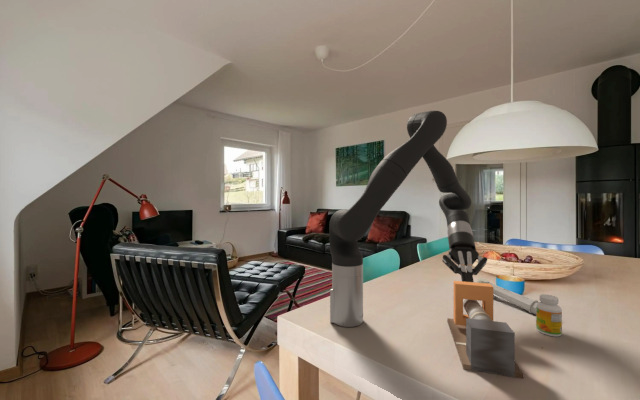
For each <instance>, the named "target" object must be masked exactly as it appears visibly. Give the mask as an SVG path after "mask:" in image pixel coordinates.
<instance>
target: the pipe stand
mask: <svg viewBox="0 0 640 400" xmlns="http://www.w3.org/2000/svg"><path fill="white" fill-rule="evenodd" d="M463 310H465V313H466V315H468V316H469V318H470V319H469V318H466V326H463V325H455V322H454V318H447V324H448V327H449V330H450V333H451V336H452V339H453V342H454V346H455V349H456V351H457V354H458V355H457V356H458V357H459V361H460V364H461V367H462V369H463V370H469V371H476V372H480V373H481V372H482V373H488V374H493V375H499V376H506V377H512V378H518V379H524V372H523V371H522V369H521V368H520V366H519V365H518V364H517V361H516V357H515V356H516V355H515V354H516V353H515V352H516V351H515V349H516V344H515V343H516V342H515V339H516V334H515V331H514V330H513V329H512V328H511V327H510V326H509V324H508V323H507V322H506V321H505V322H504V321H494V320H493V321H492V320H491V318H490V317H489V315H487V314H486V313H485V311H484V310H483V308H482V305H481V304H480V303H479V300H468V299H463Z"/></svg>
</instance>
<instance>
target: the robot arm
mask: <svg viewBox="0 0 640 400" xmlns="http://www.w3.org/2000/svg"><path fill="white" fill-rule="evenodd" d="M447 125H448V119H447V116H446V114H445V113H443V112H442V111H440V110H429V111H424V112H418V113H414V114H413V115H411V116H410V117H409V118H408V120H407V122H406V131H407V134H408V136H409V139H408V140H406V141H405V142H404V143H403V144H400V145H399V146H398V147H396V148H395V149H393V150H392V151H390V152H389V153H388V154H387V155H385V156H384V157H383V159H381V161H379V163H378V165H377V166H376V167H375V168H374V169H373V171H372V172H371V174H370V177H369V178H368V181H367V184H366V186H365V190H364V192H363V193H362V194H361V196H360V197H359V198H358V199H357V200H356V202H355V203H353V204H352V206H351V207H350V208H348V209H339V210H337V211H335V212H334V213H333V214H332V215H331V217H330V220H329V230H328V231H329V232H328V235H329V251H330V255H331V289H329V290H330V291H329V297H330V298H329V308H330V309H329V313H330V314H329V320H330V321H329V322H330V323H333V324H335V325H337V326H340V327H345V328H353V327H358V326H360V325H362V324H363V323H364V255H363V253H362V252H361V249H360V248H359V245H358V244H359V242H358V241H359V240H361V239H362V238H363V237H364V236H365V235H366V234H367V232H368V231H369V229H370V227H371V226H372V224H373V222H374V221H375V220H376V218H377V216H378V214H379V212H380V211H381V210H382V209H383V208H384V206H385V205H386V204H387V202H388V201H389V200H390V198H391V197H392V196H393V195H394V193H395V192H396V191H397V190H398V188H399V187H400V186H401V185H402V184H403V182H404V181H405V180H406V179H407V177H408V176H409V174H410V173H411V172H412V171H413V170H414V168H415V167H416V165H417V164H418V163H419V162H420V160H421V159H423V161H425V163H426V165H427V166H428V167H427V168H429V170H430V172H431V175H432V177H433V180H434V181H435V186H436V187H437V189H438V191H439V192H440V193H443V194H444V195H442V196H441V197H440V198H439V201H438V203H439V207H440V209H441V211H442V213H443V214H444V216H445V220H446V225H447V226H446V227H447V239H448V248H449V249H448V254H443V255H442V259H441V260H442V263H443V264H444V265H445V266H446V267H448V268H449V270H451V271H452V272H453V273H454V274H459V275H460V276H461V281H463V282H474V281H475V280H474V276H477V275H478V274H479V273H480V272H481V271H482V269H483V268H484V267H485V266H486V265H487V262H488V258H487V257H486V256H483V257H482V256H480V254H479V252H478V251H477V247H476V243H475V238H474V233H473V230H472V227H471V222H470V219H469V215H468V213H467V212H466V211H465V210H468V209H469V208H471V206H472V198H471V196H470V195H469V194H468V192H467V191H466V190H465V188H463V187H462V185H461V184H460V182H459V180H458V178H457V174H456V172H455V169H454V168H453V166H452V164H451V162H450V161H449V160H448V159H447V158H446V157H445V156H444V155H443V154H442V153H441V152H440V150H439V149H438V148H437V147H436V146H435V144H436V143H437V142H438V141H439V140H440V139H441V138H442V136H443V135H444V133H445V132H446V129H447ZM447 193H448V194H447ZM476 261H477V264H476V265H475V267H474V268H473V265H474V264H475V262H476Z"/></svg>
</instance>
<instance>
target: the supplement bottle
mask: <svg viewBox="0 0 640 400" xmlns="http://www.w3.org/2000/svg"><path fill="white" fill-rule="evenodd" d="M538 302H539V303H537V305H536V315H535V317H536V318H535V319H536V321H535V322H536V323H535V325H536V327H535V328H536V330H537V331H538V332H539V333H541V334H543V335H545V336H549V337H555V338H556V337H561V336H562V334H563V318H562V317H563V310H562V307H561V306H560V305H559V297H557V296H555V295H552V294H543V293H542V294H539V301H538Z"/></svg>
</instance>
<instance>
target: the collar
mask: <svg viewBox="0 0 640 400" xmlns="http://www.w3.org/2000/svg"><path fill="white" fill-rule="evenodd" d="M491 284H492V283H491ZM491 284H489V283H477V281H476V282H463V281H462V280H453V319H454V322H455V325H463V326H466V318H469V316H468V314H467V313H466V314H464V307H463V299H468V300H477V301H478V302H479V301H481V302H482V303H481V307H482V308H483V310H484V311H485V313H486V314H487V315H489V317H490V318H491V320H492V321H494V294H493V286H492V285H491ZM469 319H470V318H469Z"/></svg>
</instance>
